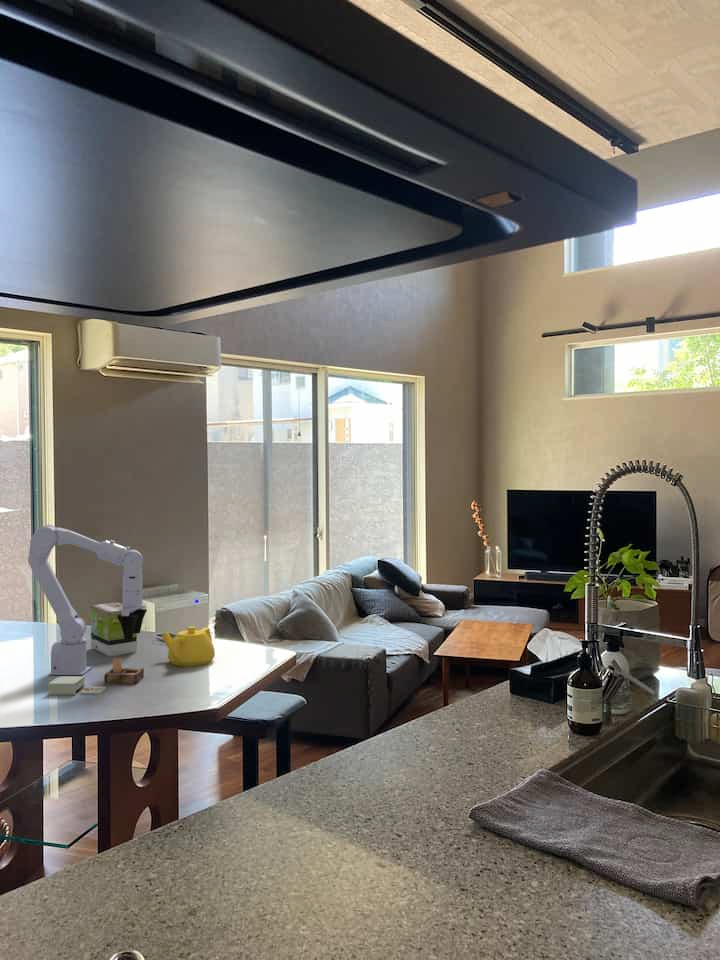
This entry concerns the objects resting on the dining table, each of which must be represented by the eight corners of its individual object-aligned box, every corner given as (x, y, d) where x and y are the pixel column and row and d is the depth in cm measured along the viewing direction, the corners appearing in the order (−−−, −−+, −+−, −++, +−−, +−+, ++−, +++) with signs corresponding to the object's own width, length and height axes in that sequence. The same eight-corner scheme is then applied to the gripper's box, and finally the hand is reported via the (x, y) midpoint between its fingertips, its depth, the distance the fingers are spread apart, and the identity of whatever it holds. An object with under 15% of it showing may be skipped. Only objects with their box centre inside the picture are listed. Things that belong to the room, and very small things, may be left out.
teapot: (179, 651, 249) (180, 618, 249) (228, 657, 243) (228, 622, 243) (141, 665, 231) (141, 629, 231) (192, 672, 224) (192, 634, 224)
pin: (111, 681, 213) (112, 660, 213) (113, 679, 215) (114, 658, 215) (120, 681, 213) (120, 660, 213) (122, 679, 215) (122, 658, 215)
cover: (48, 694, 200) (48, 683, 199) (58, 687, 206) (58, 676, 206) (75, 694, 200) (75, 683, 200) (84, 687, 207) (84, 676, 207)
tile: (80, 693, 201) (80, 691, 201) (87, 688, 206) (87, 685, 206) (99, 693, 201) (99, 691, 201) (105, 688, 206) (105, 686, 206)
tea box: (89, 648, 253) (89, 604, 253) (118, 644, 259) (118, 601, 259) (108, 657, 242) (108, 610, 241) (137, 652, 248) (138, 607, 248)
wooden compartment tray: (104, 683, 211) (104, 674, 211) (112, 676, 218) (112, 668, 218) (136, 683, 211) (136, 674, 211) (143, 677, 218) (143, 668, 218)
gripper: (138, 594, 219) (138, 641, 220) (152, 587, 234) (152, 630, 234) (114, 594, 219) (114, 641, 220) (129, 587, 234) (129, 630, 234)
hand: (132, 635), depth 227 cm, fingers open, 7 cm apart
